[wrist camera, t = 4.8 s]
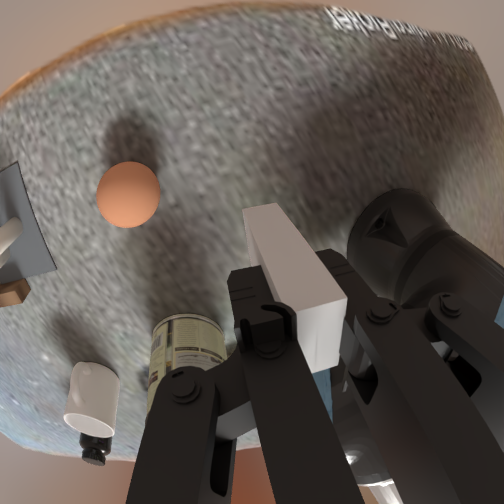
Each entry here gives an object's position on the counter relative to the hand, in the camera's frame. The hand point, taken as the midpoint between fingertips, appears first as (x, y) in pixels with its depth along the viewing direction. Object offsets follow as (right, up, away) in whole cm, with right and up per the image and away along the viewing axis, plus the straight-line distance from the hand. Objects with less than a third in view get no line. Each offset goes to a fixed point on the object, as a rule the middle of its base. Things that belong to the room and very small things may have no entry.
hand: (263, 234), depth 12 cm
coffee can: (-9, -13, +24) cm, 29 cm away
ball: (-12, +4, +10) cm, 16 cm away
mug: (-26, -20, +25) cm, 41 cm away
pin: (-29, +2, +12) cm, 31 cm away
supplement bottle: (-33, -35, +32) cm, 58 cm away
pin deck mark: (-31, +2, +11) cm, 33 cm away
